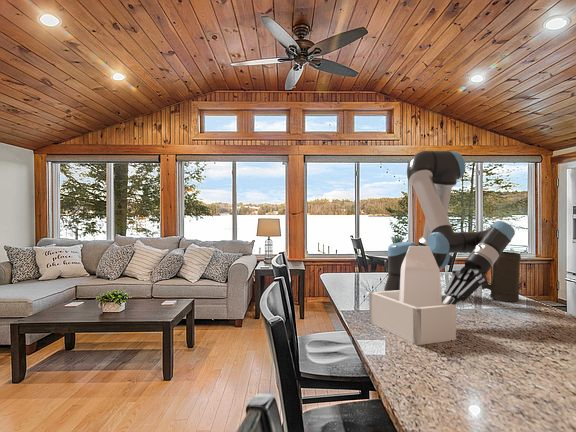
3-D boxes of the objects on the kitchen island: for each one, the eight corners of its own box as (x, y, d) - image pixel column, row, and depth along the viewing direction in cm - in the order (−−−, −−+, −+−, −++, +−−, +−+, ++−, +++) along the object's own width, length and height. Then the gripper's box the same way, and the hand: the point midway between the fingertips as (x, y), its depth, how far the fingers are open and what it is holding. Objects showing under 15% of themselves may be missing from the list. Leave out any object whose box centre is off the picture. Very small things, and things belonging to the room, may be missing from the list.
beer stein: (513, 297, 171) (513, 250, 171) (525, 302, 160) (525, 253, 160) (476, 296, 172) (476, 250, 172) (486, 302, 162) (486, 253, 161)
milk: (435, 323, 131) (435, 244, 131) (443, 333, 120) (442, 247, 119) (398, 321, 133) (397, 244, 133) (402, 332, 122) (401, 247, 121)
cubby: (369, 322, 133) (369, 292, 133) (403, 318, 137) (403, 289, 137) (416, 345, 109) (416, 309, 109) (456, 339, 113) (456, 305, 113)
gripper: (460, 250, 137) (420, 302, 132) (490, 254, 125) (448, 311, 120) (472, 265, 139) (433, 316, 134) (503, 269, 127) (462, 326, 122)
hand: (440, 314), depth 127 cm, fingers closed
